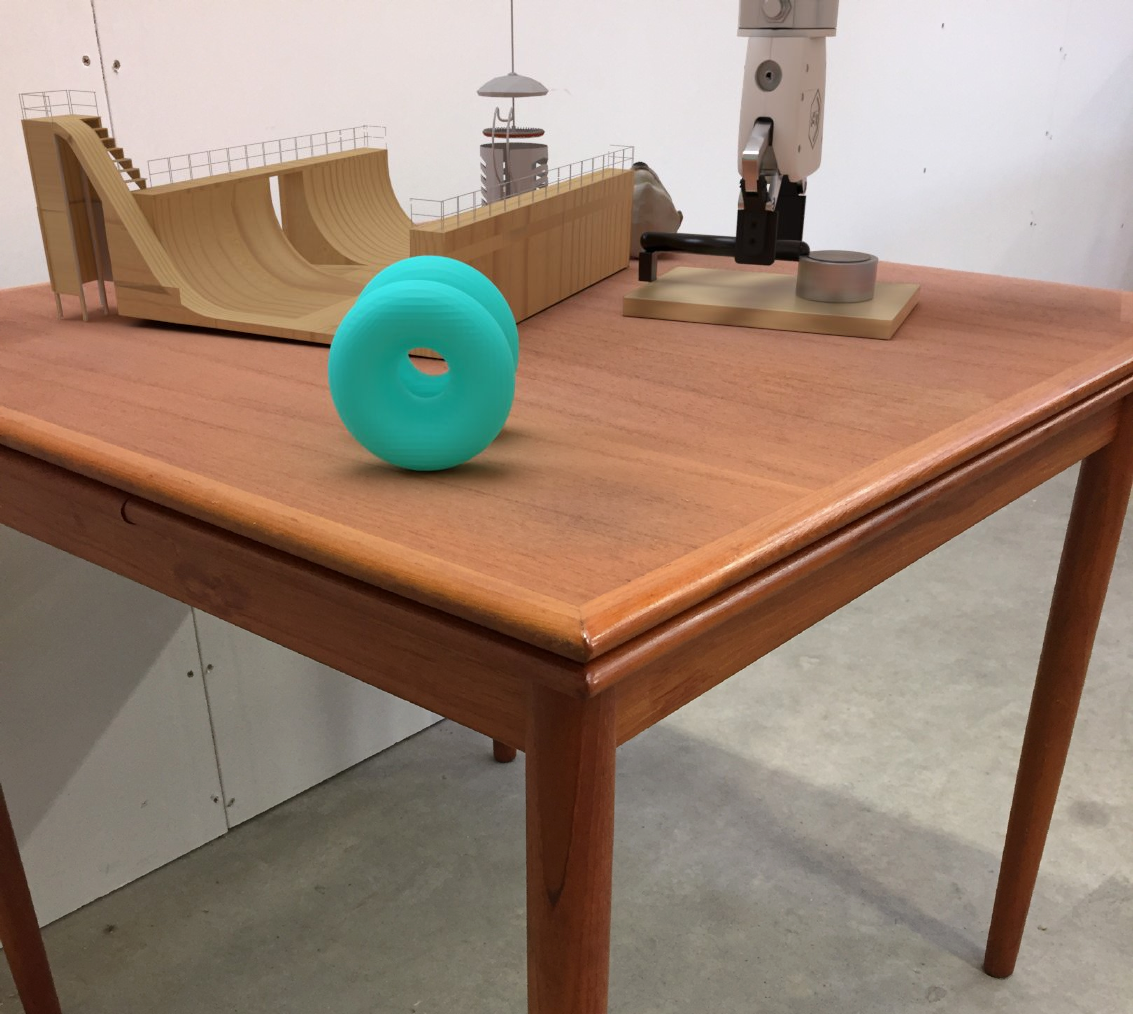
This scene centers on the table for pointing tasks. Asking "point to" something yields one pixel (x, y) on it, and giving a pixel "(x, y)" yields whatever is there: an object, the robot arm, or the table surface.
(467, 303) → the donuts
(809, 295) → the saucepan
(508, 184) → the bird feeder
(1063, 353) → the table surface
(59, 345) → the table surface
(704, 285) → the cutting board
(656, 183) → the ceramic sculpture
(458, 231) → the skate ramp
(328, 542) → the table surface
